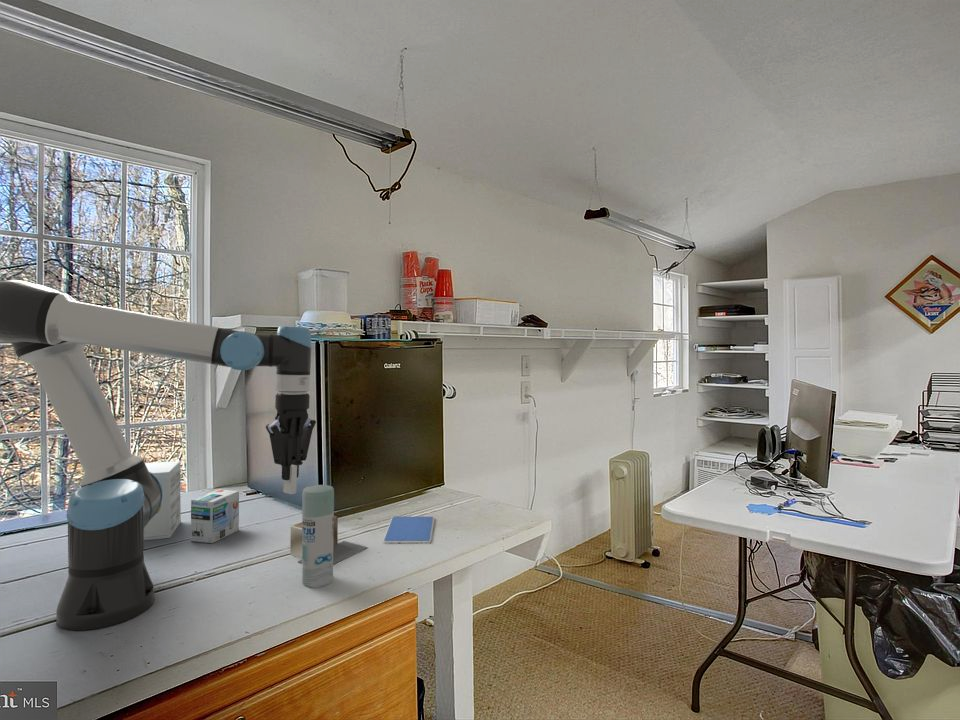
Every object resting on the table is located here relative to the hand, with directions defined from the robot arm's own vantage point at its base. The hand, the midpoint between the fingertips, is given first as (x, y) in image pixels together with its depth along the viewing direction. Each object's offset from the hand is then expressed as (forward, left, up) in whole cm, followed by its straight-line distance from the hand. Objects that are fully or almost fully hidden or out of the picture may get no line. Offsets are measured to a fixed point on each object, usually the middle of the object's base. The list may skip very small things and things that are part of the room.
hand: (289, 492), depth 123 cm
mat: (+7, -7, -16) cm, 19 cm away
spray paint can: (-4, -14, -16) cm, 22 cm away
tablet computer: (+30, -12, -17) cm, 37 cm away
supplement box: (-8, +46, -16) cm, 49 cm away
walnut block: (+2, 0, -12) cm, 13 cm away
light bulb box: (0, +29, -16) cm, 33 cm away
